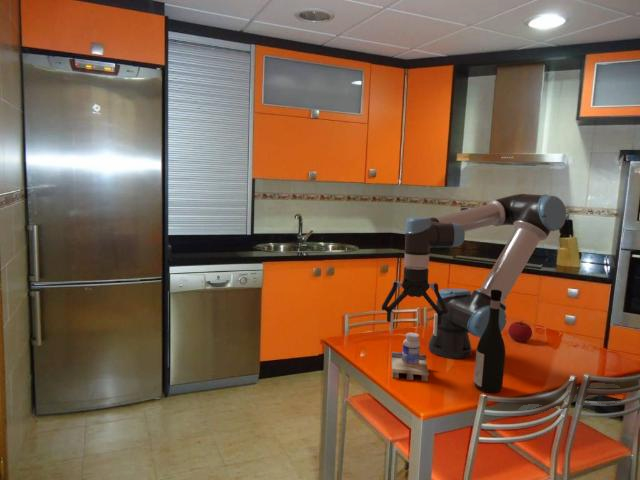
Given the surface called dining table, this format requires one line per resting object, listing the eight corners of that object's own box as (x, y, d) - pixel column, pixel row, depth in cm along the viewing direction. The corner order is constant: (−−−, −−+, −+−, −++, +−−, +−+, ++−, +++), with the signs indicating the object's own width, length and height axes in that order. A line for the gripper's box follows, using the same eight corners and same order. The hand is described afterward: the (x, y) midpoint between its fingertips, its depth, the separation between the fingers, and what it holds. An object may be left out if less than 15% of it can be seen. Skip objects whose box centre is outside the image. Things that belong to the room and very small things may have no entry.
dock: (424, 367, 153) (425, 354, 153) (428, 381, 143) (429, 367, 142) (391, 364, 155) (392, 351, 154) (391, 378, 144) (392, 364, 143)
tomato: (532, 340, 188) (534, 320, 187) (529, 345, 180) (531, 325, 179) (509, 335, 192) (511, 316, 191) (505, 341, 185) (507, 321, 184)
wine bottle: (472, 390, 138) (481, 291, 134) (474, 380, 145) (482, 286, 141) (502, 396, 135) (511, 294, 131) (501, 385, 142) (510, 289, 139)
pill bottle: (399, 360, 151) (401, 331, 150) (416, 360, 151) (418, 331, 150) (404, 367, 145) (406, 337, 144) (421, 367, 146) (423, 337, 145)
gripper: (455, 266, 147) (451, 331, 149) (376, 263, 150) (373, 326, 153) (459, 271, 139) (455, 339, 142) (375, 267, 142) (373, 334, 145)
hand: (412, 333), depth 147 cm, fingers open, 13 cm apart
